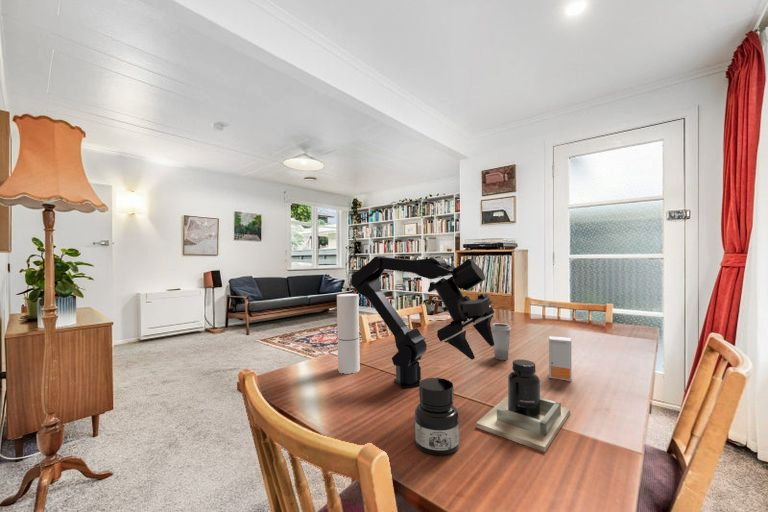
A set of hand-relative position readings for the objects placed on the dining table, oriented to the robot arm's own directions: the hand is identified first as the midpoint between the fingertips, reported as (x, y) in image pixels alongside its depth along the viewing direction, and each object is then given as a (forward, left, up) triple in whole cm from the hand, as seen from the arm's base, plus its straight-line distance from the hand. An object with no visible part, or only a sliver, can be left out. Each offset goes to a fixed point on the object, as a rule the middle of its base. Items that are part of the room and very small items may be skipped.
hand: (483, 352), depth 84 cm
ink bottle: (-21, -12, -13) cm, 27 cm away
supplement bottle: (+2, -11, -12) cm, 16 cm away
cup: (+28, +25, -13) cm, 40 cm away
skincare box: (+31, +3, -13) cm, 34 cm away
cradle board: (+2, -12, -12) cm, 17 cm away
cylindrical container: (-26, +36, -13) cm, 46 cm away
